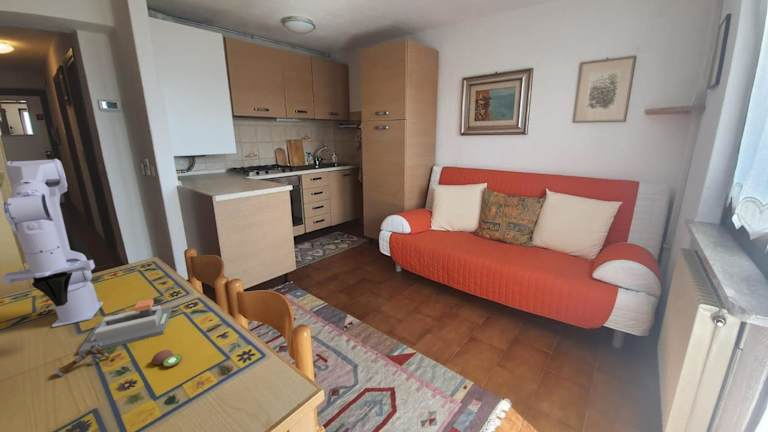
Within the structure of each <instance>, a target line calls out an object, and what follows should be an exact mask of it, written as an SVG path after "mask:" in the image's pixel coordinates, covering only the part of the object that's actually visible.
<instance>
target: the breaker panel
mask: <svg viewBox="0 0 768 432" xmlns="http://www.w3.org/2000/svg"><path fill="white" fill-rule="evenodd" d="M151 309H152V312H155V315H154V316H149V317H145V318H141V316H140V312H135V310H132V311H128V312H122V313H118V314H114V315H110V316H105V317H103V319H102V321H101V322H98V323H97V324H96V325H95V326H94V328H93V329H92V331H90V334H89V335H88V336H87V338H86V339H85V340H84V342H83V344H82V345H81V347H80V348H79V349H78V351H77V353H78V355H79V356H80V355H81V354H82V355H83V353H84V352H87V351H88V350H90V349H91V346H92V345H96V344H99V343H102V346H100V349H101V350H107V349H109V348H110V349H111V348H113V347H116V346H122V345H125V344H130V343H133V342H138V341H141V340H146V339H150V338H154V337H158V336H162V335H164V334H165V331H166V328H167V325H168V322H169V319H170V316H171V313H172V307H171V306H169V307H165V308H162V307H161V305H156V306H152V308H151ZM166 324H167V325H166ZM165 327H166V328H165ZM164 330H165V331H164ZM161 334H162V335H161ZM157 335H158V336H157ZM153 336H154V337H153ZM149 337H150V338H149ZM145 338H146V339H145Z"/></svg>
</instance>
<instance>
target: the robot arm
mask: <svg viewBox="0 0 768 432" xmlns="http://www.w3.org/2000/svg"><path fill="white" fill-rule="evenodd" d="M4 168H5V169H4V170H5V172H6V175H7V179H8V180H9V182H10V183H11V184H12V189H11V194H10V197H8V198H7V200H6V201H5V200H4V201H2V211H3V214H4V216H5V219H6V220H7V222H8V224H9V225H10V227H11V229H12V232H13V233H14V234H16V235H17V238H18V242H19V244H20V247H21V250H22V252H23V255H24V257H25V260H26V263H27V266H28V268H26V269H22V270H21V269H20V270H17V271H13V272H12V271H11V272H8V273H7V272H6V273H5V274H4V275H2V276H1V279H2V283H3V285H5V286H6V285H11V284H13V283H16V282H23V281H30V280H33V282H32V283H31V286H32V287H33V288H35V289H37V290H38V291H40V292H42V293H43V294H44V295H45V296H46V297H47V298H48V299H49V300H50V301H51V302H52V304H53V307H54V309H55V313H56V315H57V320H56V321H55V322H54V323H52V325H51V328H55V327H61V326H65V325H69V324H71V325H72V324H74V323H79V322H83V321H89V320H91V319H93V317H94V316H95V315H96V313H97V312H98V311H99V309H100V308H101V307H102V305H103V304H104V301H99V299H98V295H97V293H96V290H95V289H96V288H95V286H94V284H93V283H92V282H91V281H92V279H93V274H92V270H94V269H95V267H96V265H95V262H94V259H89V260H88V259H87V257H86V255H85V254H83V253H81V252H78V251H75V250H71V248H70V247H71V246H70V242H69V239H68V234H67V231H66V225H65V222H64V217H63V213H62V208H61V205H60V202H61V195H63V194H64V193H66V192H67V191H68V183H67V177H66V173H65V170H64V167H63V164H62V161H61V160H59V159H58V158H54V159H37V160H20V161H19V160H18V161H11V160H10V161H9V160H8V161H7V162H6V163H5V164H4Z"/></svg>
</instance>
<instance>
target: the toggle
mask: <svg viewBox="0 0 768 432" xmlns="http://www.w3.org/2000/svg"><path fill="white" fill-rule="evenodd" d="M153 305H154V298H150V299H145V300H140V301H137V302H136V304H135V306H134V311H135V312H140V316H141V318H145V317H149V316H154V315H155V312H152V309H151V308H152V307H154V306H153Z"/></svg>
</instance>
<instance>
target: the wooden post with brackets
mask: <svg viewBox="0 0 768 432" xmlns="http://www.w3.org/2000/svg"><path fill="white" fill-rule="evenodd" d="M100 346H102V343H99V344H96V345H92V346H91V349H90V350H88V351H87V352H84V353H83V354H81V355H79V356H77V357H75V359H74V360H73V361H71V362H69V363H67V364H65V365H63V366H58V367H57V368H56V370H55V374H57V375H59V376H60V377H62V378H63V377H65V376H66V373H67V372H69V370H71V369H72V368H73V367H74V366H76V365H77V364H80V363H81V362H82V361H84V360H85V359H87V358H88V356H89V357H90V355H101V356H98V357H97V356H96V357H95V358H93V359H92V360H90V362H89V363H88V366H89V367H91V366H95V365H96V364H97V363H100V361H101V360H102V358H105V359H110V358H111V355H110V354H109V353H108V352H107V351H104V349H102V350H101V349H100Z"/></svg>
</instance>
